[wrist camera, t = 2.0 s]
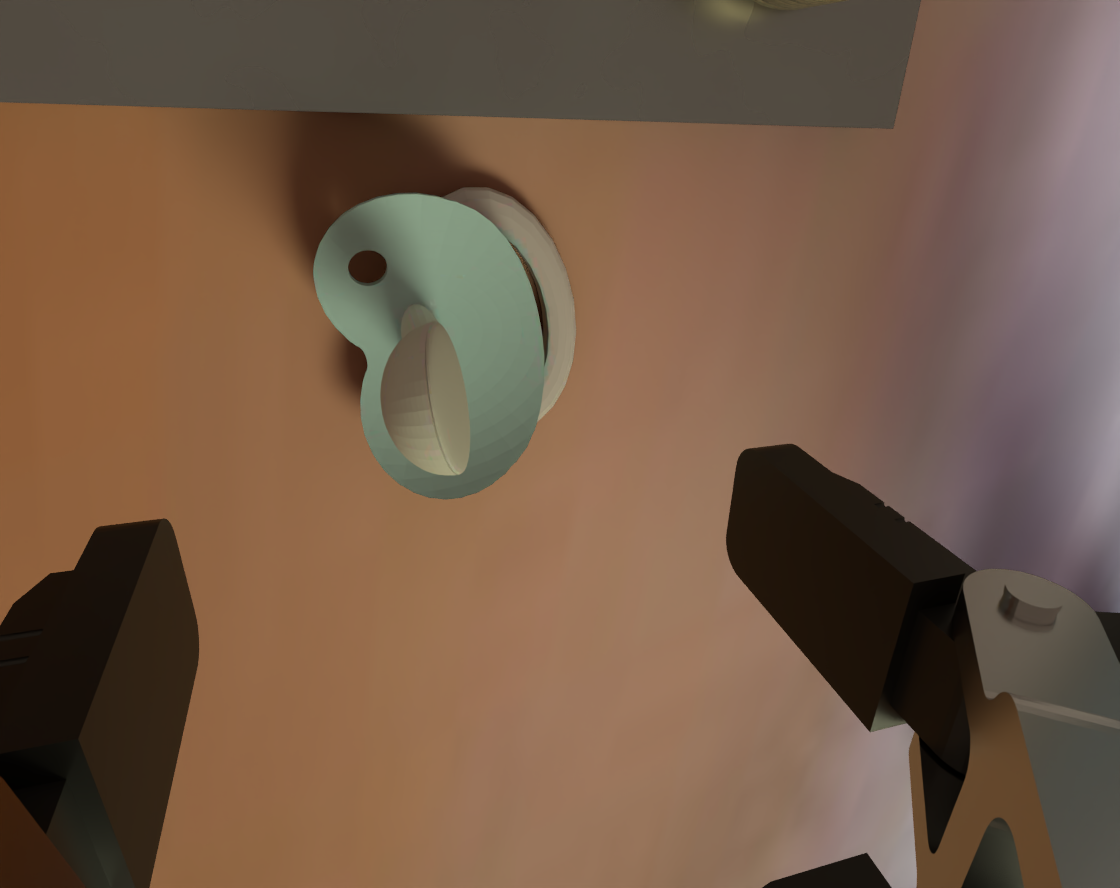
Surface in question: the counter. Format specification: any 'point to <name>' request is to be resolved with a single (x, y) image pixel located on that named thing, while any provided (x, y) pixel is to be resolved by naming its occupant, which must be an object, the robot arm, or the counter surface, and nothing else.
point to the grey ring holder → (471, 57)
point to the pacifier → (450, 332)
